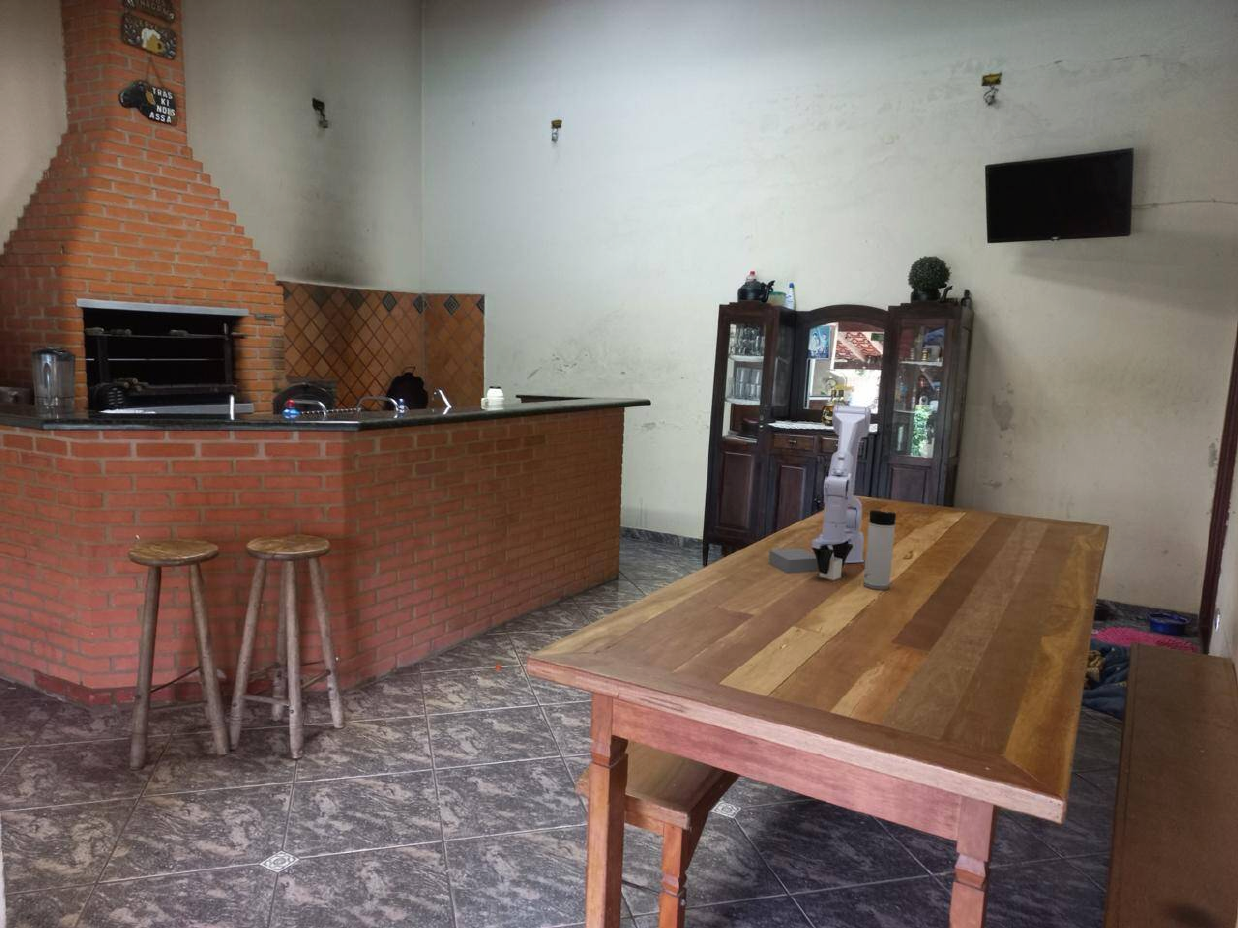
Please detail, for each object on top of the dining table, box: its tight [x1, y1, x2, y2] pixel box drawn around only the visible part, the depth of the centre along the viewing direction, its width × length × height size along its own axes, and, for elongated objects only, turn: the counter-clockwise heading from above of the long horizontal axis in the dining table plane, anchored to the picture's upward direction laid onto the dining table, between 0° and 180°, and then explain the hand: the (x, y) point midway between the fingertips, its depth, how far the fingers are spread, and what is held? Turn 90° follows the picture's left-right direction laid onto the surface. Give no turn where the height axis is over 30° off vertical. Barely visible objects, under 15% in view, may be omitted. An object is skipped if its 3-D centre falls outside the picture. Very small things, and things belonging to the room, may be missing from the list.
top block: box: [819, 556, 843, 581], centre depth 204 cm, size 4×4×5 cm
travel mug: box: [863, 509, 897, 591], centre depth 196 cm, size 6×7×20 cm
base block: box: [768, 547, 819, 574], centre depth 212 cm, size 10×10×4 cm
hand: (830, 571), depth 204 cm, fingers open, 6 cm apart
